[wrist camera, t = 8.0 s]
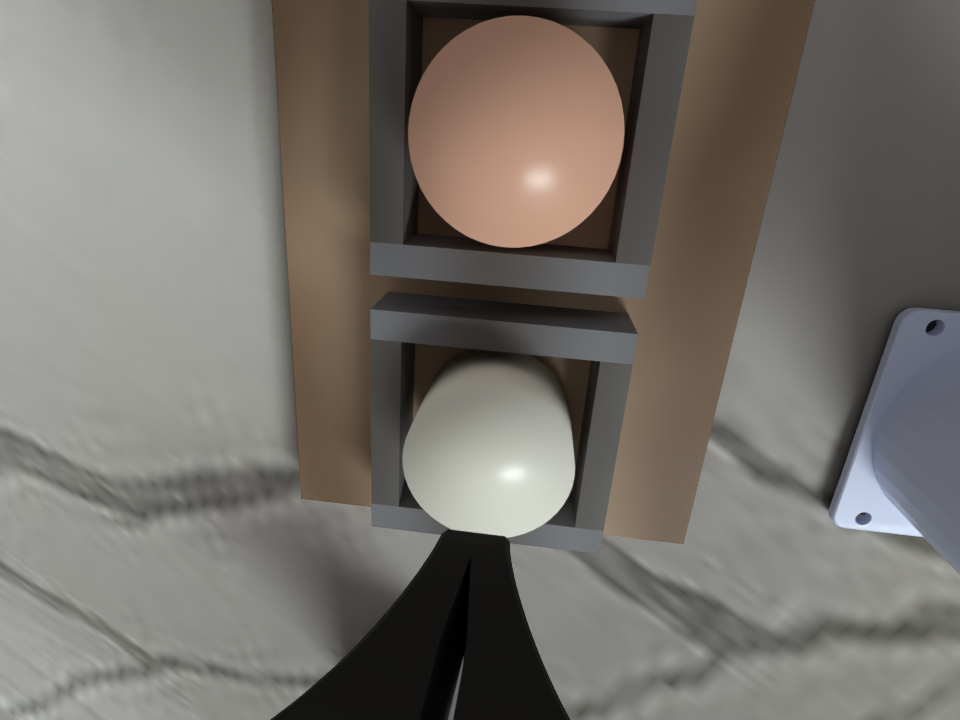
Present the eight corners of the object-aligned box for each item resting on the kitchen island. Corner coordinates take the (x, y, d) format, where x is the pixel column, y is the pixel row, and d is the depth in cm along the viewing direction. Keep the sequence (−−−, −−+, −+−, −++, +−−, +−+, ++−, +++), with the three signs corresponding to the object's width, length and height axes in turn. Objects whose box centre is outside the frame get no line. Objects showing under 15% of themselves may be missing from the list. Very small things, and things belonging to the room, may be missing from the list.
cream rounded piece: (578, 354, 18) (586, 398, 15) (561, 485, 20) (564, 547, 17) (426, 339, 18) (403, 379, 15) (422, 469, 20) (401, 528, 17)
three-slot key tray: (915, -507, 12) (1038, -721, 9) (675, 522, 21) (697, 584, 18) (264, -501, 13) (181, -691, 10) (313, 480, 22) (278, 532, 19)
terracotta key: (621, 45, 15) (641, 22, 12) (595, 234, 16) (607, 256, 13) (436, 34, 15) (410, 9, 12) (430, 220, 17) (406, 239, 14)
